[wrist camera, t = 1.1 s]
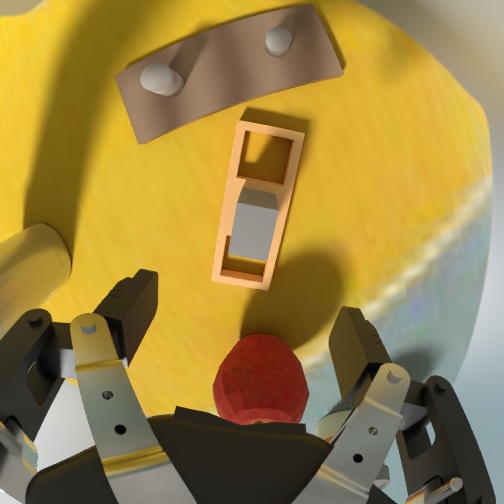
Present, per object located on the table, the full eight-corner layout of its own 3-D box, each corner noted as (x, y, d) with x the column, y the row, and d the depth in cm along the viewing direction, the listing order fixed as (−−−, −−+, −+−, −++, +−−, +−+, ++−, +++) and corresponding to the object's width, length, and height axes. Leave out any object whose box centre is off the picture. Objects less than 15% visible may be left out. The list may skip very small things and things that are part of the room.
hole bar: (268, 283, 31) (269, 326, 24) (213, 273, 30) (200, 314, 23) (302, 133, 24) (318, 132, 17) (238, 121, 24) (230, 114, 17)
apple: (316, 351, 34) (333, 442, 22) (254, 382, 37) (252, 468, 24) (269, 300, 31) (273, 399, 19) (204, 339, 34) (182, 431, 21)
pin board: (144, 143, 25) (116, 147, 19) (121, 77, 22) (91, 68, 17) (339, 76, 22) (359, 62, 16) (309, 9, 19) (321, -17, 13)
